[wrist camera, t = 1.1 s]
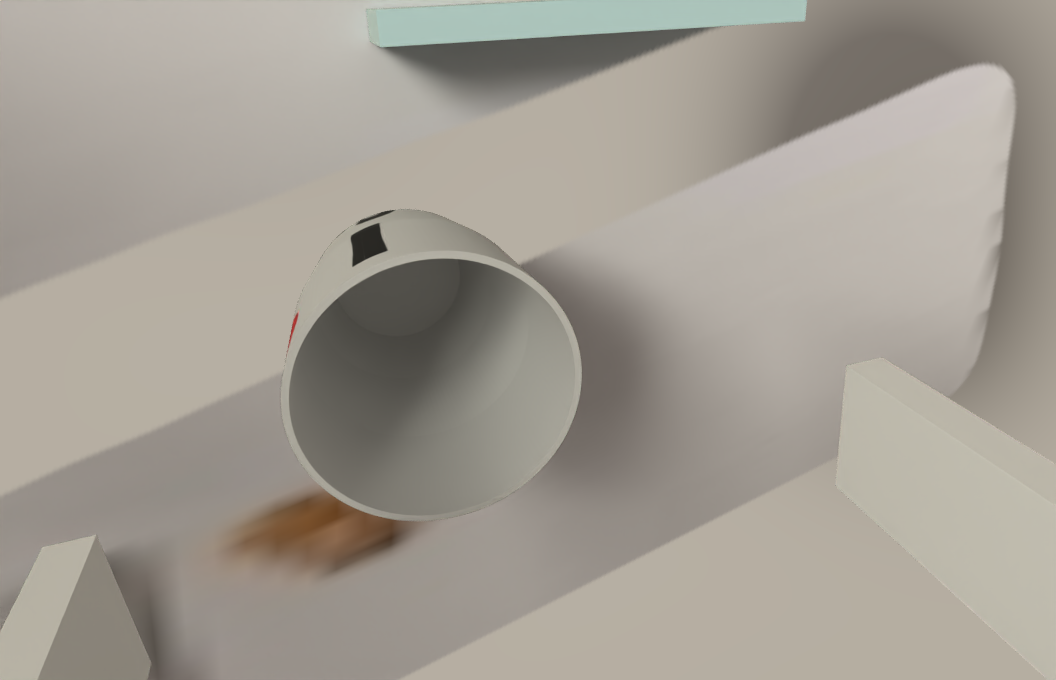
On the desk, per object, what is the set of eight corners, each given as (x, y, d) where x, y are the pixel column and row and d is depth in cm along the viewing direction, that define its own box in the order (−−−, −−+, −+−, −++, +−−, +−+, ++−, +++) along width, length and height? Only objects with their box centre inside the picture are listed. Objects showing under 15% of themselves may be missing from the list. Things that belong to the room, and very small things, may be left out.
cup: (362, 128, 27) (389, 188, 18) (540, 244, 30) (637, 343, 21) (247, 313, 28) (220, 454, 19) (430, 404, 32) (477, 558, 23)
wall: (370, 41, 26) (380, 47, 22) (366, 9, 25) (375, 10, 22) (743, 19, 29) (804, 20, 25) (745, -10, 28) (808, -13, 25)
